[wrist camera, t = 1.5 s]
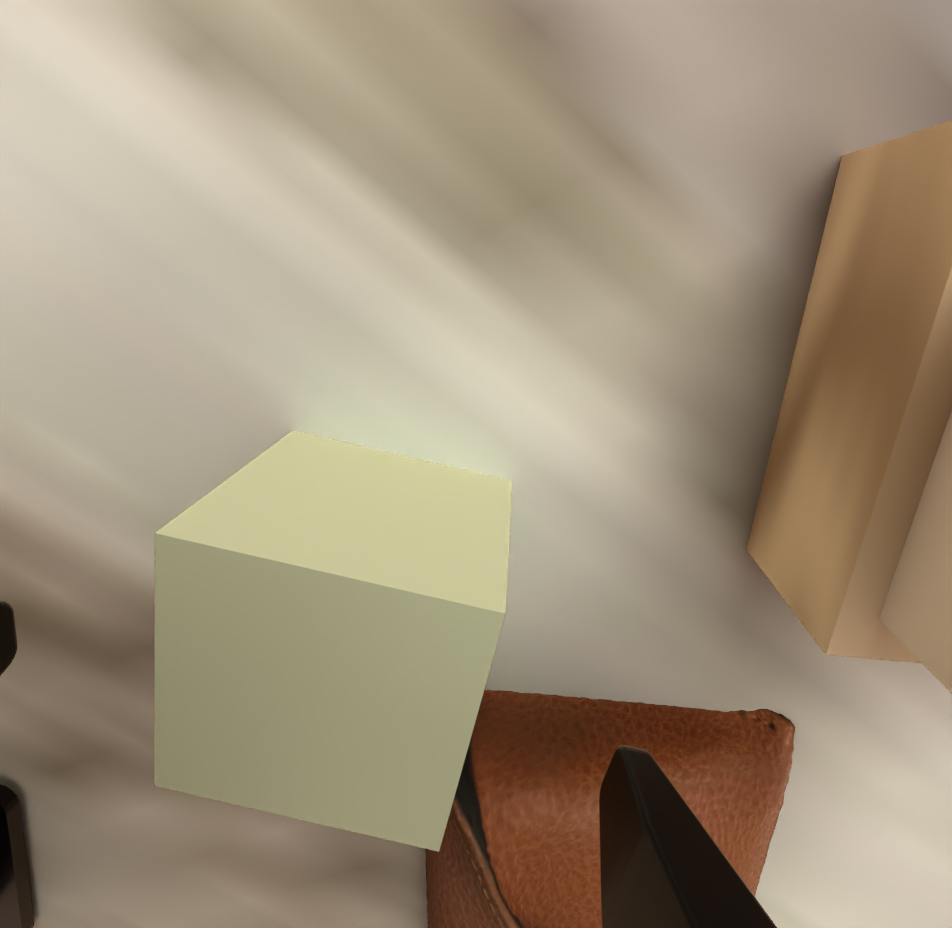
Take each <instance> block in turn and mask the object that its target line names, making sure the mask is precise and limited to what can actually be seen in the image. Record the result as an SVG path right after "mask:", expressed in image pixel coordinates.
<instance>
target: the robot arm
mask: <svg viewBox="0 0 952 928" xmlns="http://www.w3.org/2000/svg"><path fill="white" fill-rule="evenodd" d="M16 651H17V637H16V628H15V618H14V611H13V608H12V606H11V605H10V604H9V603H7V602H5V601H1V600H0V676H1V675H2V673H3V672H4V671H5V670H6V669H7V668H8V666H9V665H10V664H11V662H12V660H13V659H14V657H15V654H16ZM599 820H600V871H601V911H602V928H777V927H776V926H775V924H774V923H773V921H772V920H771V919H770V917H769V916H768V915H767V913H766V912H765V910H764V909H763V908H762V906H761V905H760V904H759V902H758V901H757V899H756V898H755V897H754V895H753V894H752V893H751V891H750V890H749V888H748V887H747V886H746V884H745V883H744V882H743V880H742V879H741V878H740V876H739V875H738V873H737V872H736V871H735V869H734V868H733V867H732V865H731V864H730V862H729V861H728V860H727V858H726V857H725V856H724V854H723V853H722V851H721V850H720V849H719V847H718V846H717V845H716V843H715V842H714V841H713V839H712V838H711V836H710V835H709V834H708V832H707V831H706V830H705V828H704V827H703V825H702V824H701V823H700V821H699V820H698V819H697V817H696V816H695V814H694V813H693V812H692V810H691V809H690V808H689V806H688V805H687V803H686V802H685V801H684V799H683V798H682V797H681V795H680V794H679V793H678V791H677V790H676V788H675V787H674V786H673V784H672V783H671V782H670V780H669V779H668V777H667V776H666V775H665V773H664V772H663V771H662V769H661V768H660V766H659V765H658V764H657V762H656V761H655V760H654V758H653V757H652V756H651V754H650V753H648V752H647V751H646V750H644V749H639V748H635V747H631V746H627V745H620V746H618V748H617V749H616V750H615V752H614V755H613V757H612V760H611V762H610V764H609V767H608V769H607V772H606V774H605V776H604V779H603V781H602V784H601V788H600V795H599ZM33 926H34V918H33V910H32V902H31V894H30V886H29V878H28V870H27V861H26V853H25V845H24V837H23V829H22V821H21V813H20V805H19V800H18V797H17V795H16V794H15V793H14V792H13V791H12V790H11V789H9V788H8V787H6V786H3V785H1V784H0V928H32V927H33Z"/></svg>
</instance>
